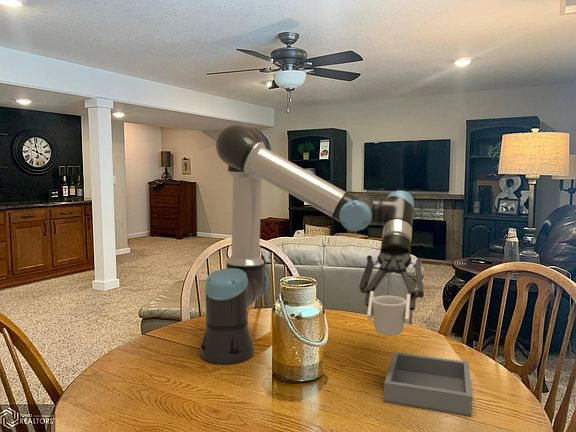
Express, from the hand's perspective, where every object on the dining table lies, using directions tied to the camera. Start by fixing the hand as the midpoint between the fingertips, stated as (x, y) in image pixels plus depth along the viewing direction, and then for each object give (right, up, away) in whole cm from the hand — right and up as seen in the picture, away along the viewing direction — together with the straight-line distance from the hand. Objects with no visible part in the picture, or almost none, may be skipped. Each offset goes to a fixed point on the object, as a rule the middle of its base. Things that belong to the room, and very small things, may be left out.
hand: (388, 319), depth 107 cm
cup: (+1, -4, +4) cm, 5 cm away
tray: (+10, -17, +2) cm, 20 cm away
